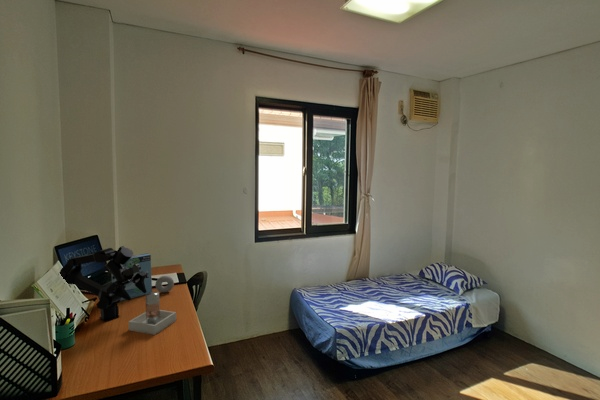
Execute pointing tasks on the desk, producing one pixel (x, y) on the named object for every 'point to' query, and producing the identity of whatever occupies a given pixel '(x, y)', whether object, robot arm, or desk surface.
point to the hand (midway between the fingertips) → (138, 296)
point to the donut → (164, 279)
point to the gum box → (145, 265)
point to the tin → (152, 308)
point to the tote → (141, 326)
